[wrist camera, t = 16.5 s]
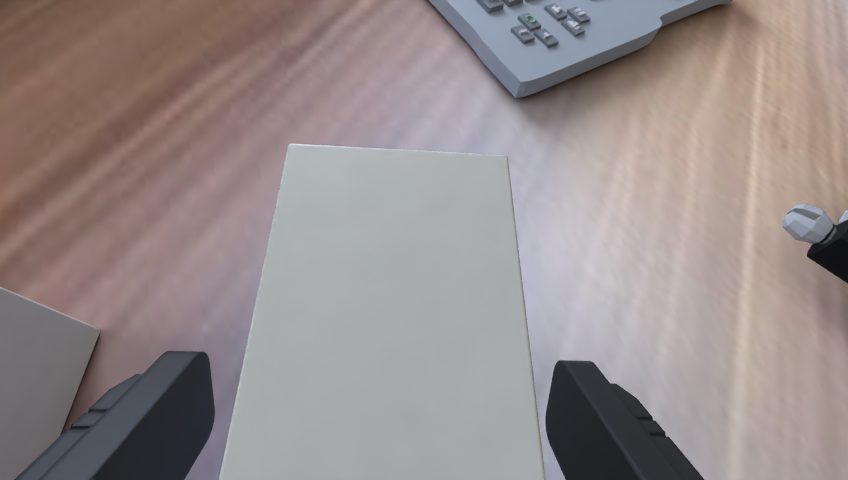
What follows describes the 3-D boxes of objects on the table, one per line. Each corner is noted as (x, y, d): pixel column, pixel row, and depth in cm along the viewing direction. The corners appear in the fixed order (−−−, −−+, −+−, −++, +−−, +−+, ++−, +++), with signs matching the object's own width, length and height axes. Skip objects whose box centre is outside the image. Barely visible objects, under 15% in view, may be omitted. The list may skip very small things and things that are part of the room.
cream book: (325, 614, 12) (12, 1427, 2) (350, 336, 15) (286, 141, 6) (436, 612, 12) (651, 1331, 2) (434, 338, 16) (509, 154, 6)
